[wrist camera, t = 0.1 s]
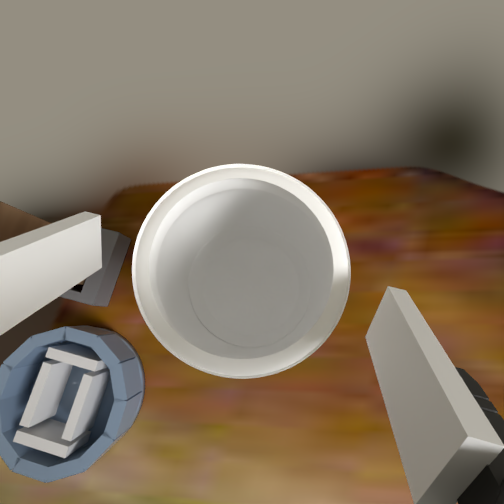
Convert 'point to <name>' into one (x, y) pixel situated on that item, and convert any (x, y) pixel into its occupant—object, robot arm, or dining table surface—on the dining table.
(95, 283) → the grey slotted block
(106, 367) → the candle dish
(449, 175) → the dining table surface
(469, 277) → the dining table surface
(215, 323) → the jar
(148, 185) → the dining table surface
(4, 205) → the brown long rectangular bar
